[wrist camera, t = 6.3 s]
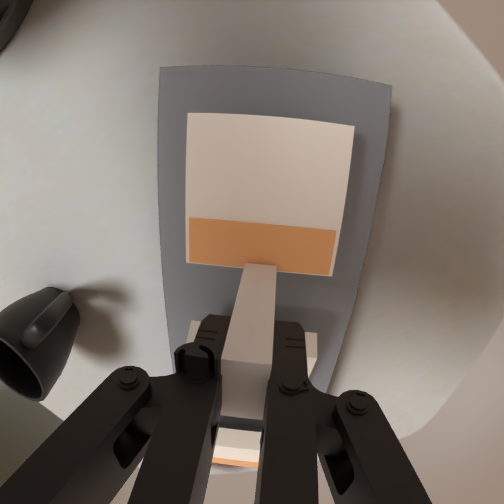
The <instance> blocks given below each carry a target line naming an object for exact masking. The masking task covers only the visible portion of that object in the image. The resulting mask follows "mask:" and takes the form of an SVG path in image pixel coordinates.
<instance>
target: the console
mask: <svg viewBox="0 0 504 504" xmlns="http://www.w3.org/2000/svg"><path fill="white" fill-rule="evenodd" d="M391 92H392V85H387V84H383V83H378V82H373V81H368V80H363V79H358V78H352V77H346V76H340V75H334V74H327V73H319V72H312V71H303V70H294V69H283V68H270V67H253V66H175V67H160V76H159V98H158V206H159V229H160V247H161V262H162V275H163V287H164V298H165V308H166V318H167V327H168V335H169V344H170V351H171V359H172V366H173V373H176V369H175V360H174V352H175V350H176V349H177V348H178V347H180V346H181V345H183V344H186V341H187V337H188V333H189V329H190V325H191V321H192V320H193V321H200V322H201V321H202V320H203V319H204V318H205V317H206V316H208V315H209V314H214V315H222V316H231V317H232V313H233V309H234V305H235V301H236V297H237V293H238V289H239V285H240V281H241V277H242V273H243V269H244V268H234V267H224V266H214V265H204V264H194V263H186V231H185V185H186V139H187V114H188V113H225V114H247V115H262V116H275V117H286V118H296V119H305V120H314V121H322V122H329V123H337V124H343V125H350V126H355V128H354V137H353V146H352V154H351V162H350V170H349V178H348V185H347V192H346V199H345V205H344V212H343V218H342V224H341V230H340V236H339V242H338V247H337V253H336V258H335V264H334V269H333V274H332V277H331V276H320V275H309V274H297V273H287V272H276V294H275V315H274V320H278V321H289V322H299V323H300V325H301V326H302V328H303V329H304V330H305V332H311V333H317V360H316V362H315V365H314V367H313V369H312V371H311V374H310V376H309V380H310V381H311V383H312V385H313V386H314V387H315V388H316V389H318V390H319V391H321V392H323V393H326V391H327V389H328V386H329V383H330V380H331V377H332V374H333V371H334V368H335V365H336V361H337V358H338V355H339V352H340V349H341V346H342V342H343V339H344V336H345V332H346V329H347V328H348V325H349V321H350V318H351V314H352V311H353V307H354V303H355V300H356V296H357V292H358V290H357V289H358V285H359V281H360V277H361V272H362V268H363V264H364V260H365V255H366V251H367V247H368V242H369V237H370V233H371V228H372V223H373V218H374V213H375V207H376V202H377V197H378V191H379V185H380V179H381V173H382V167H383V166H384V160H385V153H386V146H387V139H388V131H389V122H390V114H391V113H390V103H391ZM262 426H263V420H258V419H248V418H240V417H231V416H224V415H221V411H220V416H219V427H220V428H227V429H236V430H245V431H254V432H262Z"/></svg>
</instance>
